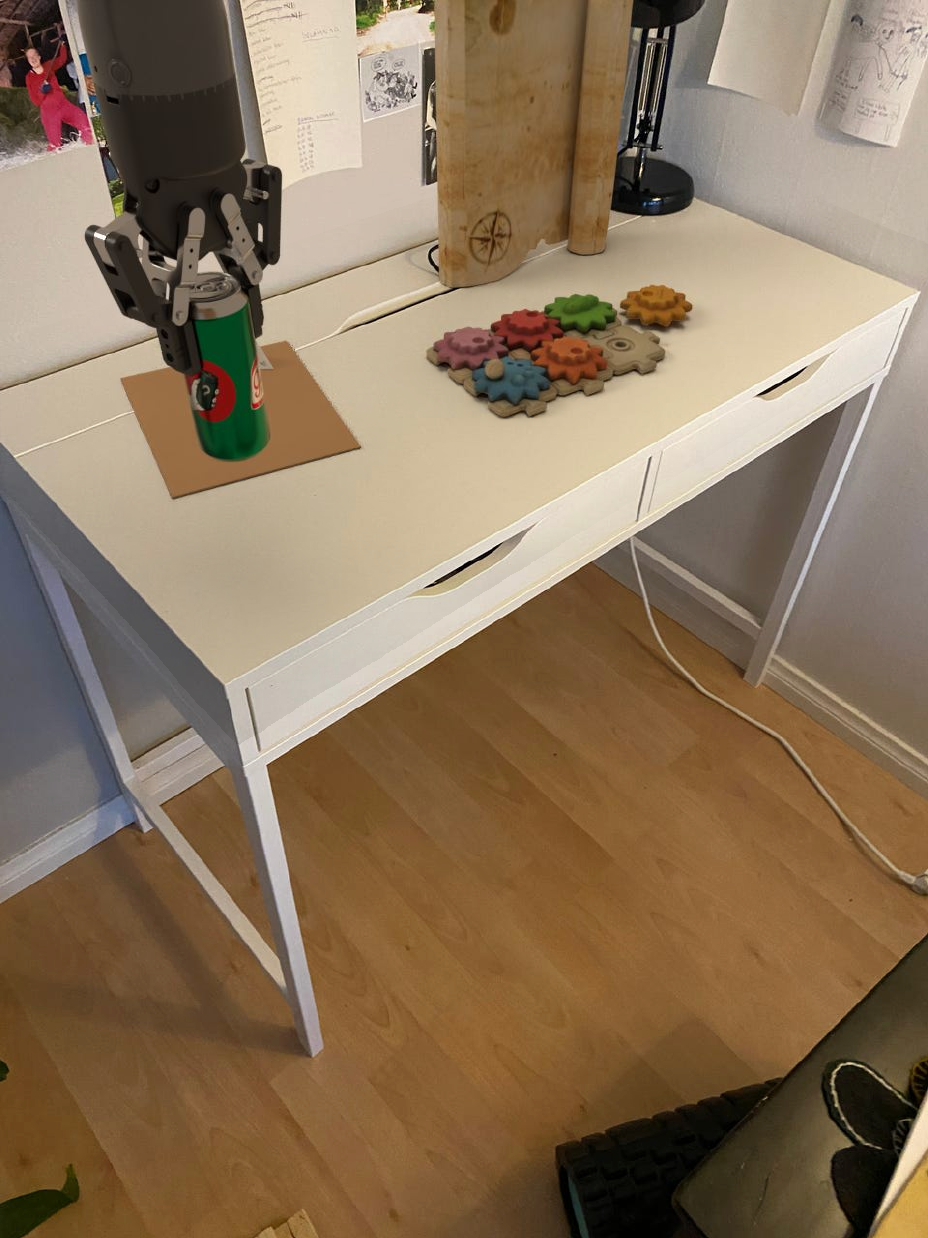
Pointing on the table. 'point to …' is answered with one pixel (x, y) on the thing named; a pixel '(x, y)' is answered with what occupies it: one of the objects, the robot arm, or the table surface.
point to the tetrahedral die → (263, 359)
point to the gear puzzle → (557, 348)
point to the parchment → (525, 128)
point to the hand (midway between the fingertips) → (217, 351)
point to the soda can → (226, 371)
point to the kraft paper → (294, 419)
